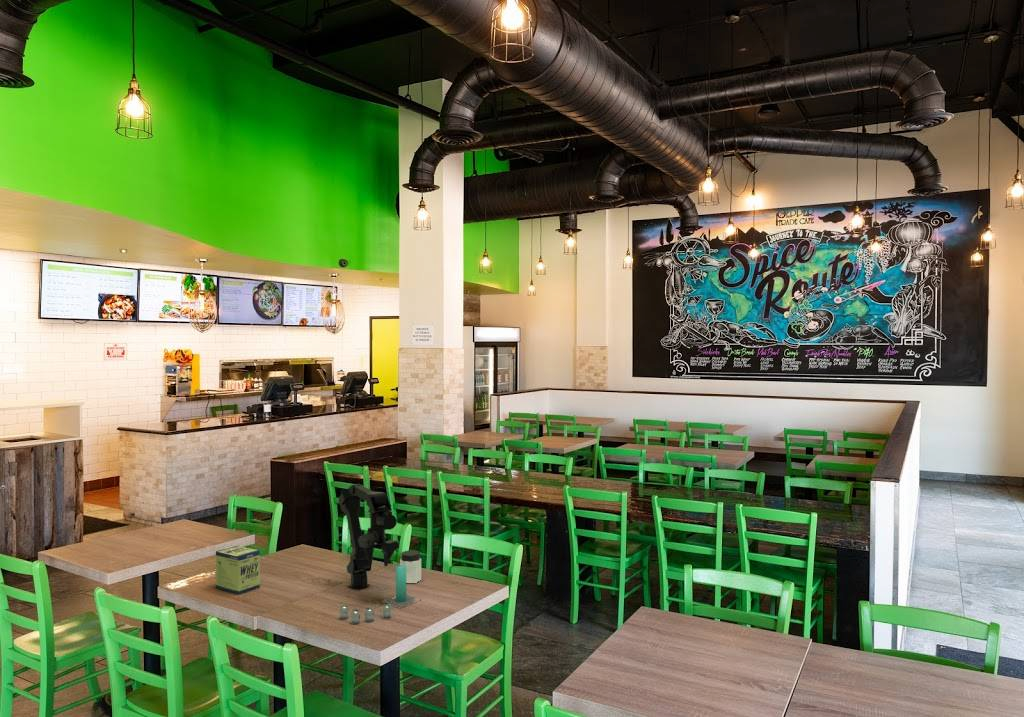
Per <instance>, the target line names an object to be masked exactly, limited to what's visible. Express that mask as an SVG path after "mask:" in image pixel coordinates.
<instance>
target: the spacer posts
mask: <svg viewBox="0 0 1024 717" xmlns="http://www.w3.org/2000/svg"><path fill="white" fill-rule="evenodd" d="M349 609H350V608H349V605H346V604H345V605H340V606H339V619H340V620H348V619H349V618H350V624H352V625H358V623H359V624H361V610H360V609H353V610H351V611H350V610H349ZM381 610H382V612H381V614H382V616H381V617H382V618H383V617H384V618H383V619H385V618H387V619H389V618H388V617H391V618H392V606H391V605H389V604H384V605H382V609H381ZM349 611H350V613H349ZM349 616H350V617H349ZM347 618H348V619H347ZM373 620H374V621H375V608H374V607H367V608H365V609H364V622H365V623H371V621H372V622H374V621H373Z"/></svg>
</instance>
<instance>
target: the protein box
mask: <svg viewBox="0 0 1024 717" xmlns="http://www.w3.org/2000/svg"><path fill="white" fill-rule="evenodd" d="M260 553H261V551H260V550H259V549H253V548H249V547H245V546H244V547H243V546H240V545H235V546H231V547H227V548H223V549H219V550H216V551H215V589H217V590H221V591H225V592H227V593H231V594H234V593H235V594H234V595H238V594H240V595H241V594H242V593H243V594H245V593H248V592H252V591H254V589H255V590H257V589H256V588H258V589H260V588H261V554H260ZM259 587H260V588H259ZM251 590H252V591H251ZM243 594H242V595H243Z"/></svg>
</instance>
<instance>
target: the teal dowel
mask: <svg viewBox="0 0 1024 717" xmlns="http://www.w3.org/2000/svg"><path fill="white" fill-rule="evenodd" d="M406 595H407V584H406V566H403V565H400V564H399V565H397V566H395V596H396V601H397V602H404V601H406Z"/></svg>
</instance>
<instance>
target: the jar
mask: <svg viewBox="0 0 1024 717" xmlns="http://www.w3.org/2000/svg"><path fill="white" fill-rule="evenodd" d="M400 565H403V566H406V583H416V584H417V582H418V581H419V582H421V581H422V558H421V552H420V551H419V550H414V549H411V550H404V551H402V552H401V553H400V559H399V566H400ZM420 580H421V581H420ZM419 582H418V583H419Z"/></svg>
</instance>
